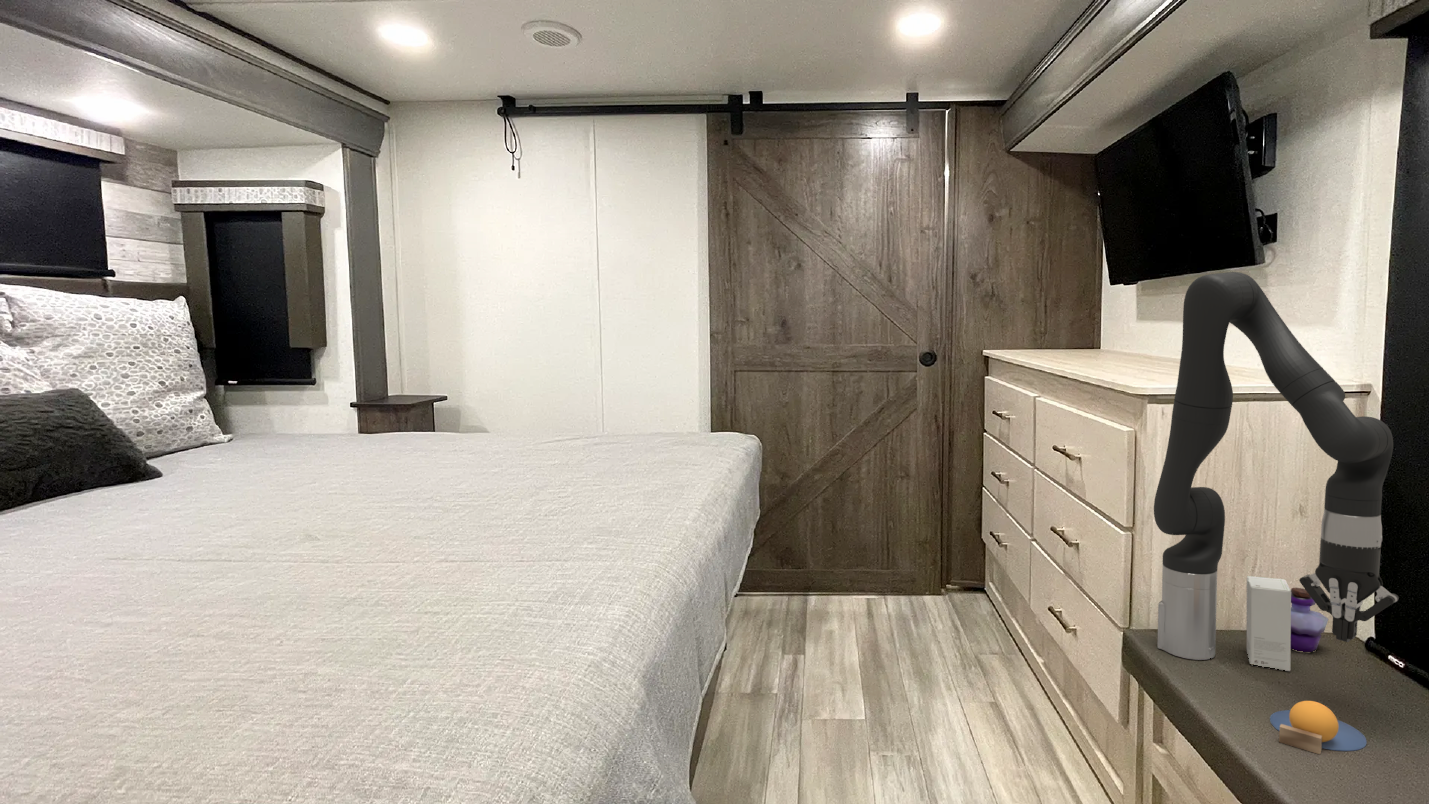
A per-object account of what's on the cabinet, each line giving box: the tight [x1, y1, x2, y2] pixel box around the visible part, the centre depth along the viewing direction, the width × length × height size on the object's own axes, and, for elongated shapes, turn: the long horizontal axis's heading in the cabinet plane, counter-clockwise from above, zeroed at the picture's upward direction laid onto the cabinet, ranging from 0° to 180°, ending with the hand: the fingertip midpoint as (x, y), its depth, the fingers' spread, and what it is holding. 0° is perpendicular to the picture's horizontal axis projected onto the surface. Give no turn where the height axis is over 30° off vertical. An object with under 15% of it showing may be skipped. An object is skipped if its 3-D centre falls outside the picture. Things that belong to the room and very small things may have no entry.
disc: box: [1269, 709, 1367, 752], centre depth 118 cm, size 12×12×1 cm
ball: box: [1289, 700, 1339, 742], centre depth 115 cm, size 6×6×6 cm
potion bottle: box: [1290, 587, 1329, 652], centre depth 148 cm, size 9×9×12 cm
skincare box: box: [1246, 575, 1292, 672], centre depth 142 cm, size 8×7×16 cm
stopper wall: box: [1278, 724, 1323, 755], centre depth 114 cm, size 5×1×2 cm, turn 43°
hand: (1344, 639), depth 123 cm, fingers closed
